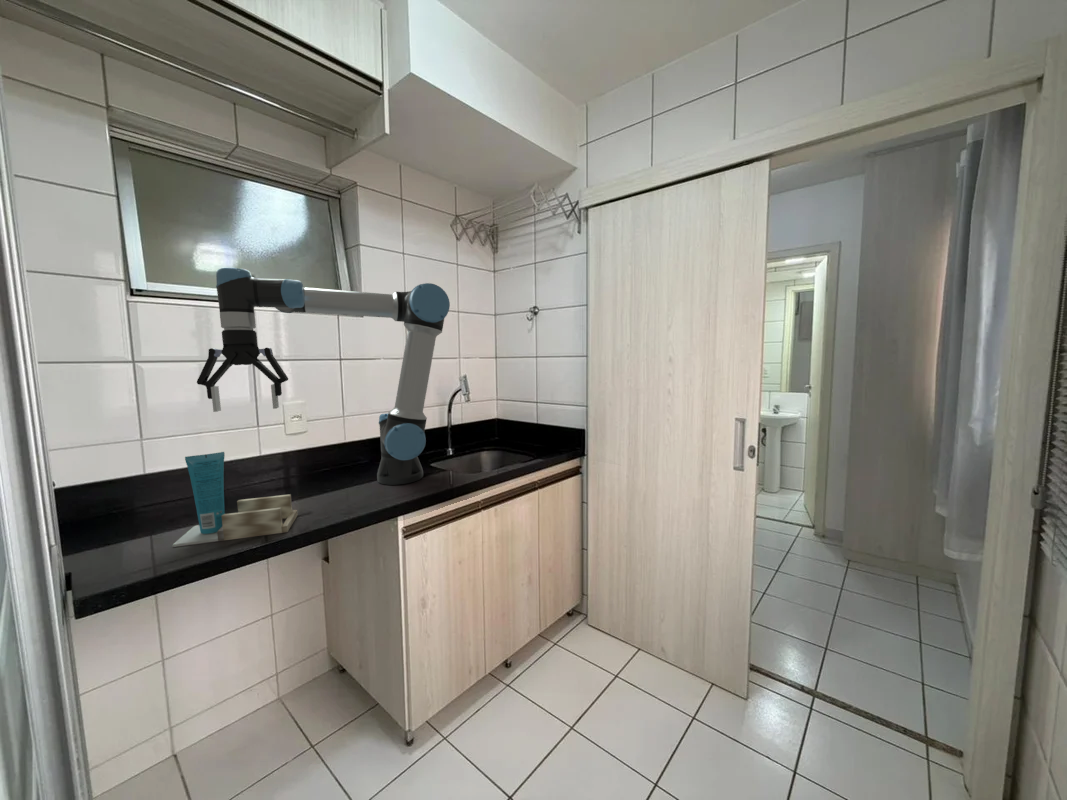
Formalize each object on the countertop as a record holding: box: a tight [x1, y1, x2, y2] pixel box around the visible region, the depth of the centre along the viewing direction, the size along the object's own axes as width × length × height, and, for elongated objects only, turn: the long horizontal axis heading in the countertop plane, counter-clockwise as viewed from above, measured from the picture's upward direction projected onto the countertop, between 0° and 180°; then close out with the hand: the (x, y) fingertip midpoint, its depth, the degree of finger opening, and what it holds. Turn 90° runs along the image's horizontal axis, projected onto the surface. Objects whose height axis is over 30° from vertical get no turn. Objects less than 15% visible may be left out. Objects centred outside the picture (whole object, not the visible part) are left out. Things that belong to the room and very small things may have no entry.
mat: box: [172, 524, 219, 548], centre depth 102 cm, size 9×11×1 cm
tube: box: [184, 451, 226, 534], centre depth 101 cm, size 7×5×19 cm, turn 137°
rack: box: [217, 493, 299, 542], centre depth 105 cm, size 14×11×6 cm
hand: (247, 409), depth 112 cm, fingers open, 13 cm apart
